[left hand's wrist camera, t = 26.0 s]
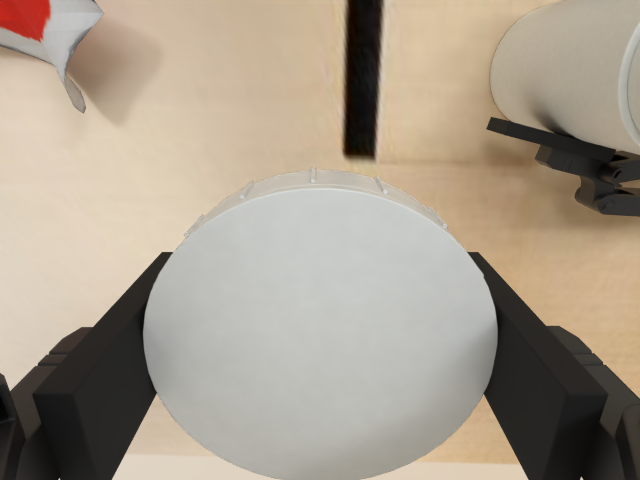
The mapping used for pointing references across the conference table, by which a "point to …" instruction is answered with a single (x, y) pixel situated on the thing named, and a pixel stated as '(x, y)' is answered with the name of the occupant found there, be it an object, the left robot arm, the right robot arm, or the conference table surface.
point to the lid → (320, 328)
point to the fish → (49, 32)
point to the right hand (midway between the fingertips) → (530, 44)
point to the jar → (574, 71)
